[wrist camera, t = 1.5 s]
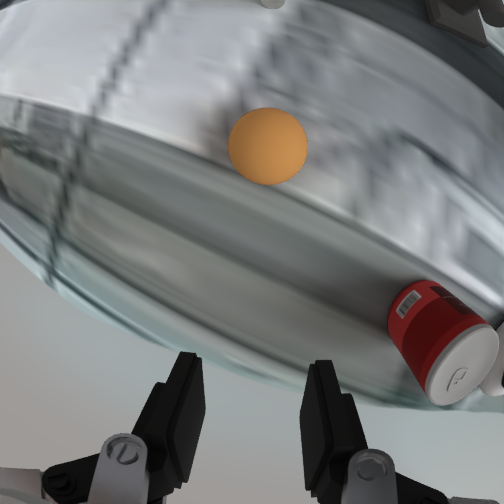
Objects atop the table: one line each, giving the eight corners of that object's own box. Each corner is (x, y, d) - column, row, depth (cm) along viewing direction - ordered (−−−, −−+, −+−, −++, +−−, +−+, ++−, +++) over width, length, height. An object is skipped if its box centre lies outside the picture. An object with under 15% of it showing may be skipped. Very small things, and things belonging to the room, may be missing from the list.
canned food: (379, 346, 28) (416, 415, 18) (390, 279, 26) (444, 336, 16) (435, 337, 28) (480, 394, 17) (448, 275, 26) (510, 320, 15)
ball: (303, 118, 23) (314, 102, 17) (301, 185, 24) (311, 189, 19) (234, 115, 23) (224, 98, 17) (231, 182, 25) (220, 185, 19)
